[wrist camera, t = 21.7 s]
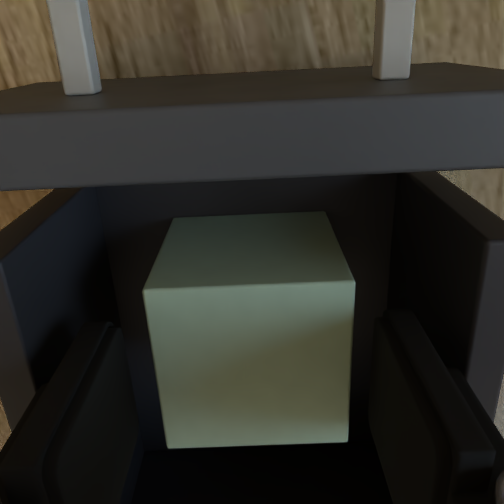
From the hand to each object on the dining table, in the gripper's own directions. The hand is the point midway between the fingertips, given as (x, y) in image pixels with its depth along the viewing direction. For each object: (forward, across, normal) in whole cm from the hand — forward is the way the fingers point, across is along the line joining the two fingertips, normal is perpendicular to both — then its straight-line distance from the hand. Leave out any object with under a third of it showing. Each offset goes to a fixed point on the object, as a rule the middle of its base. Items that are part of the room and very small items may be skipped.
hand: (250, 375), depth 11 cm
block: (+4, 0, 0) cm, 4 cm away
